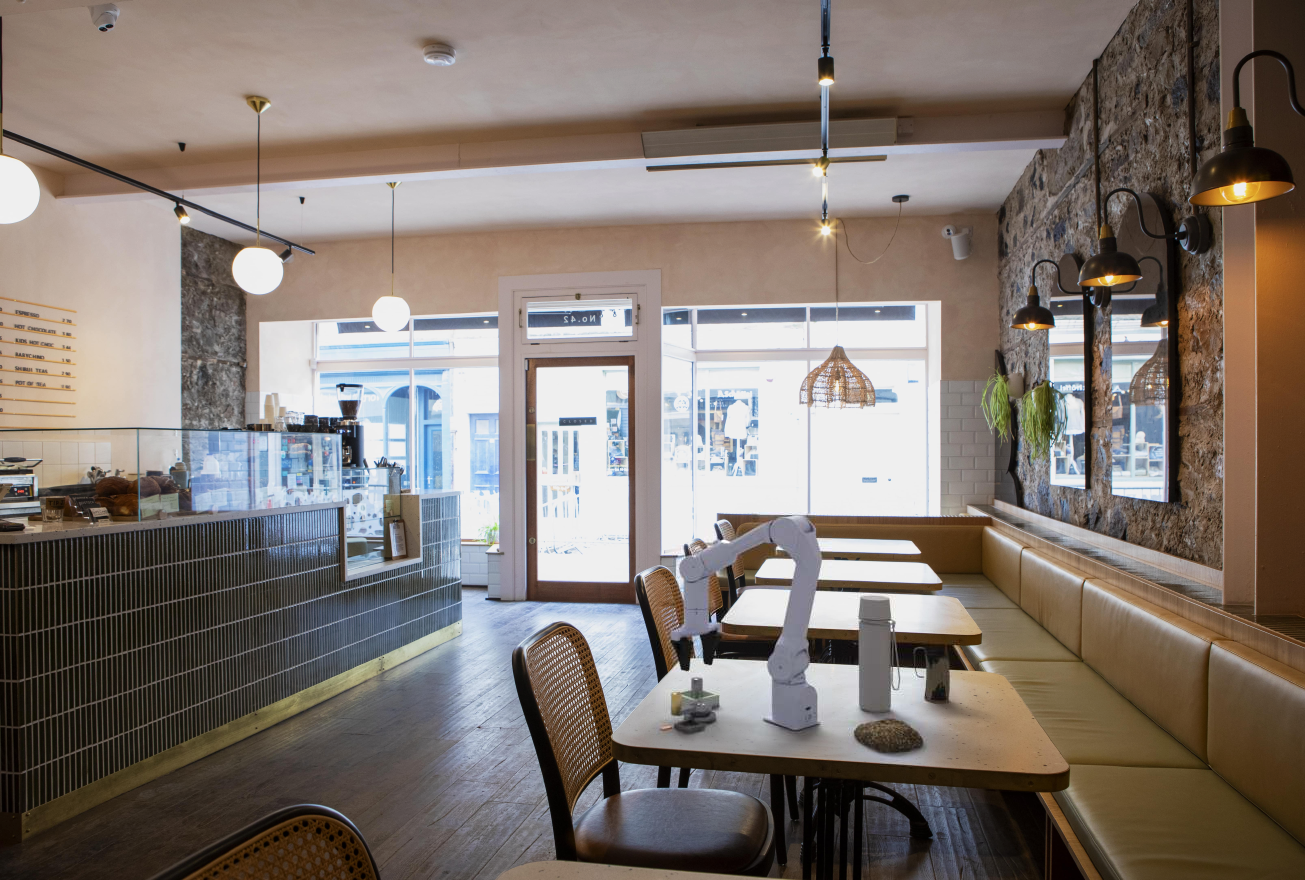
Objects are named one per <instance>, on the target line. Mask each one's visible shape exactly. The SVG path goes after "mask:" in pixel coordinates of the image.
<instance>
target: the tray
mask: <svg viewBox="0 0 1305 880" xmlns="http://www.w3.org/2000/svg"><path fill="white" fill-rule="evenodd" d="M679 692H680V693H681V706H685V705H688V703H689V702H690V701H694V700H704V701H709V702H711V709H712V708H717V707H719V706H720V694H718V693H715V692H713V691H710V690H706V689H704V688H703V698H699V699H693V698H691V688H690V689H686V690H682V691H679Z"/></svg>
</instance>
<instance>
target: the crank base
mask: <svg viewBox="0 0 1305 880" xmlns="http://www.w3.org/2000/svg"><path fill="white" fill-rule="evenodd" d="M716 721H717V713H716V712H715V711H713V710H711V714H710V715H708V716H693V715H690V714H685V715H683V720H681V721H678V722H674V723H673V727H672V726H671V725H667V726H663V727H660V728H659V730H661V731H665V730H668V729H673V728H674V729H676V730H677V731H681V732H682V733H685V734H688V735H689V734H692V733H697V732H701V731H703V730H706V724H708V725H709V724H712V723H714V722H716ZM687 726H690V727H687Z"/></svg>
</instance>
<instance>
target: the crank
mask: <svg viewBox="0 0 1305 880" xmlns="http://www.w3.org/2000/svg"><path fill="white" fill-rule="evenodd" d="M680 692H681V691H673V692H671V693H670V715H671V716H675V717H681V716H684V715H685V714H690V715H693V716H708V715H710V714H711V711H712V708H711V702H709V701H704V700H694V701H690V702H689V703H688V705H685V706H681V693H680Z"/></svg>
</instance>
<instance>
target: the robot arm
mask: <svg viewBox="0 0 1305 880" xmlns="http://www.w3.org/2000/svg"><path fill="white" fill-rule="evenodd" d="M763 543H766V544H773V543H774V544H775V545H776V546H778V547H779V548H780V549H782V550H783V551H785V552H786V553H787V554H788V555H789V556H790V558H791V559H792V560H793V562H794V563H795V568H794V571H793V576H792V581H791V587H790V592H789V596H788V601H787V606H786V611H785V617H784V621H783V626H782V630H781V634H780V636H779V638H778V640H777V641H776V644H775V646H774V650H773V652H772V653H771V655H770V656H769V658H768V660H767V665H766V666H767V671H768V674H769V675H770V677H771V714H770V715H766V716H763V717H762V719H763V720H764V721H766V722H770V723H772V724H775V725H779V726H780V727H781V726H782V727H784V728H787V729H789V730H793V731H798V730H802V729H806V728H809V727H811V726H812V727H813V726H815V725H819V724H820V723H821V721H820V720H818V692H817V689H816V688H815V687H814V686H813V685H811V684H809V683H808V681H807V679H806V677H807V676H806V674H805V672H806V671H807V669H808V668H809V665H810V659H811V658H810V655H809V644H810V643H809V641H808V638H807V634H808V630H809V625H810V620H811V615H812V610H813V605H814V601H815V595H816V591H817V586H818V582H819V576H820V573H821V567H822V564H823V556H822V552H821V548H820V545H819V542H818V539H817V528H816V526H815V525H814V524H813V523H812V522H811V521H810V519H809V518H807V517H806V516H805V515H803V514H793V515H791V516H782V517H778V518H776V519H775V520H770V521H768V522H765V523H763V524H759V526H757V527H755V528H753V529H752V530H751V529H750V531H748V532H746V533H744V534H743V535H741V536H739V537H737V538H735V539H734V540H732V541H729V540H726V539H722V540H721V539H716V540H713V541H712V545H711V546H708V547H706V548H705V549H703V548H701V549H700V548H699V549H698V550H697V551H696V554H695V555H687V556H685V558H683V559H682V560H681V561H680V563H679V567H678V570H679V575H680V576H681V578H682V579H683V624H682V625H681V627H679V628H677V629H675V630H671V631H670V644H671V645H672V647H673V649H674V650H675V654H676V656H677V660H678V664H679V667H680V670H681V671H684V672H689V671H690V669H691V656H692V650H693V646H694V643H695V642H694V641H691V640H689V639H688V638H693V637H696V636H697V637H698V636H699V639H700V642H701V648H702V661H703V664H704V665H707V666H712V665H713V663H714V658H715V654H716V651H717V647H718V645H719V643H720V641H721V640H722V638H723V635H722V633H720V632H721V630H722V629H721V628H722V623H721V622H717V621H716V622H715V621H713V622H712V621H711V622H710V610H709V608H710V606H709V605H710V603H709V601H710V600H709V599H710V598H709V597H710V596H709V595H710V594H709V593H710V592H709V590H710V588H709V584H710V582H709V581H710V577H711V576H712V574H715V573H717V572H719V571H721V570H722V569H725V568H727V567H729V566H730V565H732V564H735V563H736V561H737V559H738V555H739V554H741V553H745V552H746V551H748V550H750V549H752V548H755V547H757V546H759V545H761V544H763Z"/></svg>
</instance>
